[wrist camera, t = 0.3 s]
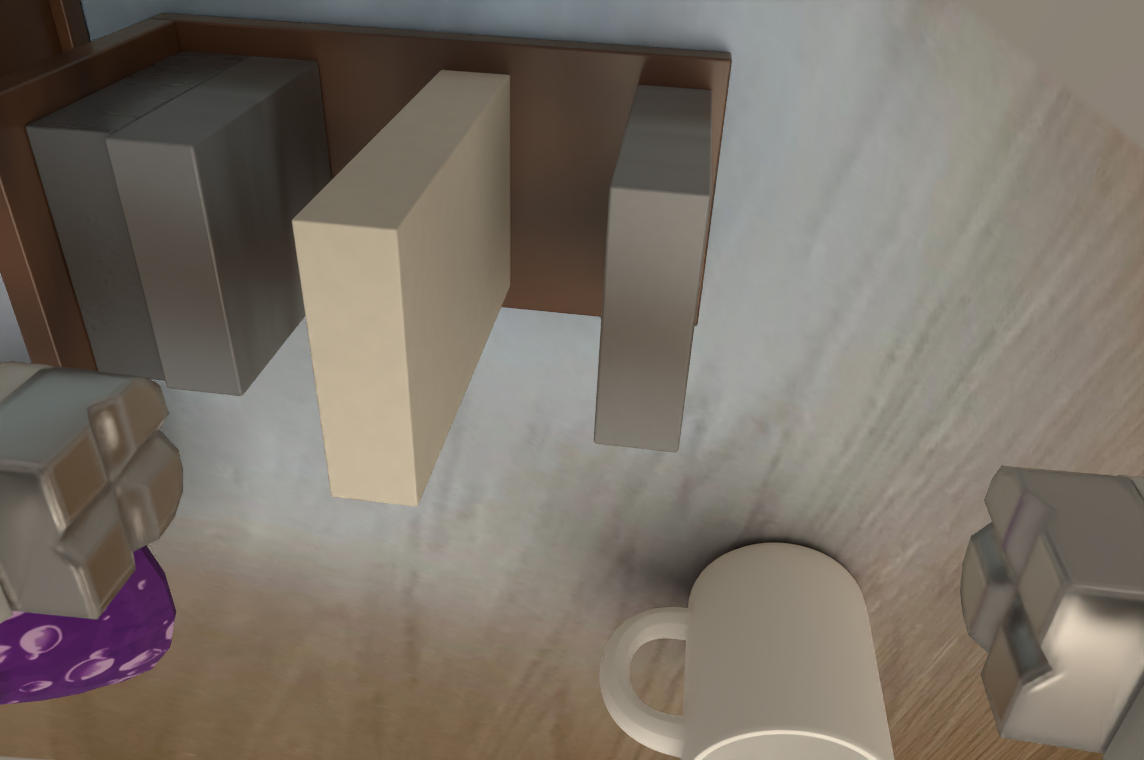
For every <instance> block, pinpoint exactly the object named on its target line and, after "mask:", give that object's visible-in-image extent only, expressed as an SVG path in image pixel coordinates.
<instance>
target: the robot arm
mask: <svg viewBox="0 0 1144 760" xmlns="http://www.w3.org/2000/svg"><path fill="white" fill-rule="evenodd" d="M168 414H169V413H168V410H167V406H166V403H165V400H164V397H163V393H162V390H161V387H160V386H159V385H158V384H156V383H155V382H153V381H152V380H150V379H149V378H147V377H140V376H132V375H124V374H116V373H108V372H100V371H92V370H84V369H76V368H68V367H60V366H56V367H53V366H49V365H42V364H32V363H22V362H4V363H0V623H2V622H4V621H5V620H7V619H8V618H10V617H11V616H13V612H12V611H19V612H29V613H38V614H48V615H58V616H68V617H78V618H88V619H98V618H99V617H100V616H101V614H102V613H103V612H104V610H105V609H106V608H107V606H108V605H109V604H110V602H111V601H112V600H113V599H114V597H115V596H116V595H117V593H118V592H119V591H120V589H121V588H122V587H123V586H124V584H125V583H126V582H127V580H128V579H129V578H130V576H131V575H132V574H133V573H134V571H135V570H136V568H135V562H134V555H133V552H134V551H136V550H138V549H140V548H142V547H144V546H146V545H147V544H149V543H151V542H153V541H155V540H157V539H159V538H160V537H161V536H162V534H163V533H164V531H165V530H166V529H167V527H168V526H169V524H170V523H171V522H172V520H173V519H174V517H175V514H176V511H177V508H178V504H179V501H180V498H181V495H182V492H183V467H182V463H181V459H180V455H179V451H178V449H177V448H176V447H175V446H174V445H173V444H172V443H171V442H170V441H169V440H168V439H167V438H166V436H165V435H164V434H163V433H162V432H161V431H160V430H159V429H160V428H161V426H162V424H163V423H164V421H165V419H166V418H167V416H168ZM984 501H985V504H986V507H987V509H988V512H989V515H990V517H991V520H992V522H991V523H990V524H988V525H987V526H985V527H984V528H982V529H981V530H979V531H978V532H977V533H975V534H974V535H972V536H971V538H970V541H969V544H968V547H967V551H966V554H965V557H964V560H963V563H962V574H961V586H960V596H961V604H962V613H963V617H964V620H965V624H966V627H967V631H968V635H969V636H970V637H971V638H972V639H973V640H974V641H976V642H977V643H978V644H979V645H980V646H981V647H982V648H983V649H984V650H985V651H986V652H988V653H989V654H988V657H987V659H986V662H985V664H984V667H983V670H982V672H981V678H982V681H983V684H984V687H985V690H986V694H987V697H988V700H989V703H990V706H991V710H992V713H993V716H994V719H995V722H996V726H997V729H998V732H999V735H1000V737H1002V738H1008V739H1015V740H1021V741H1028V742H1034V743H1040V744H1047V745H1053V746H1060V747H1066V748H1072V749H1079V750H1085V751H1092V752H1098V753H1104V755H1103V757H1102V758H1103V759H1104V760H1144V477H1142V476H1128V475H1118V476H1110V475H1099V474H1089V473H1078V472H1067V471H1056V470H1045V469H1034V468H1023V467H1012V466H1001V467H1000V469H999V470H998V471H997V473H996V474H995V475H994V477H993V478H992V480H991V483H990V485H989V488H988V491H987V493H986V496H985V499H984Z"/></svg>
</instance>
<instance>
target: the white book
mask: <svg viewBox="0 0 1144 760" xmlns="http://www.w3.org/2000/svg"><path fill="white" fill-rule="evenodd" d="M292 225H293V232H294V239H295V246H296V253H297V260H298V267H299V274H300V281H301V288H302V295H303V302H304V309H305V316H306V323H307V329H308V336H309V343H310V350H311V357H312V364H313V371H314V378H315V385H316V392H317V399H318V406H319V413H320V420H321V427H322V434H323V441H324V448H325V455H326V462H327V469H328V476H329V483H330V489H331V496H333V497H341V498H349V499H357V500H366V501H374V502H383V503H391V504H399V505H408V506H418V504H419V501H420V499H421V497H422V494H423V492H424V490H425V487H426V485H427V482H428V480H429V478H430V475H431V473H432V471H433V468H434V466H435V463H436V461H437V459H438V456H439V454H440V451H441V449H442V447H443V444H444V442H445V440H446V437H447V435H448V432H449V430H450V428H451V425H452V423H453V421H454V418H455V416H456V413H457V411H458V409H459V406H460V404H461V401H462V399H463V397H464V394H465V392H466V390H467V387H468V385H469V382H470V380H471V378H472V375H473V373H474V371H475V368H476V366H477V363H478V361H479V359H480V356H481V354H482V351H483V349H484V347H485V344H486V342H487V340H488V337H489V335H490V332H491V330H492V328H493V325H494V323H495V320H496V318H497V316H498V313H499V311H500V309H501V306H502V304H503V301H504V299H505V297H506V294H507V292H508V290H509V287H510V75H504V74H490V73H477V72H463V71H450V70H441V71H440V72H439V73H438V74H437V75H436V76H435V77H434V78H433V79H432V80H431V81H430V82H429V83H428V84H427V85H426V86H425V87H424V88H423V89H422V90H421V91H420V92H419V93H418V94H417V95H416V96H415V97H414V98H413V99H412V100H411V101H410V102H409V103H408V104H407V105H406V106H405V107H404V108H403V109H402V110H401V111H400V112H399V113H398V114H397V115H396V116H395V117H394V118H393V119H392V120H391V121H390V122H389V123H388V124H387V125H386V126H385V127H384V128H383V129H382V130H381V131H380V132H379V133H378V134H377V135H376V136H375V137H374V138H373V139H372V140H371V141H370V142H369V143H368V144H367V145H366V146H365V147H364V148H363V149H362V150H361V151H360V152H359V153H358V154H357V155H356V156H355V157H354V158H353V159H352V160H351V161H350V162H349V163H348V164H347V165H346V166H345V167H344V168H343V169H342V170H341V171H340V172H339V173H338V174H337V175H336V176H335V177H334V178H333V179H332V180H331V181H330V182H329V183H328V184H327V185H326V186H325V187H324V188H323V189H322V190H321V191H320V192H319V193H318V194H317V195H316V196H315V197H314V198H313V199H312V200H311V201H310V202H309V203H308V204H307V205H306V206H305V207H304V208H303V209H302V210H301V211H300V212H299V213H298V214H297V216H296V217H295V218H294V219H293V220H292Z"/></svg>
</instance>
